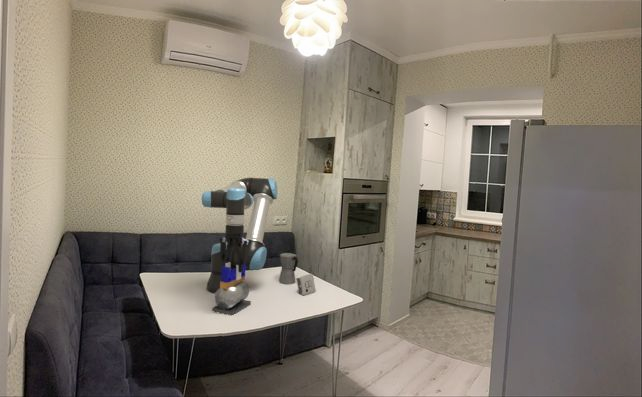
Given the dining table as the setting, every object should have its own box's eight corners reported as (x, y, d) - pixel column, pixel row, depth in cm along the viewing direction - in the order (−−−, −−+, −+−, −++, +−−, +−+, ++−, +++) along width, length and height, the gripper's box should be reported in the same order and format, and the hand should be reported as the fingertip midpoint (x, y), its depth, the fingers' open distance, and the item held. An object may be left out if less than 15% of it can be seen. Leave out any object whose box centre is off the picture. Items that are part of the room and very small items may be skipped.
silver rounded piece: (232, 315, 136) (233, 284, 136) (211, 311, 139) (212, 280, 139) (250, 304, 149) (251, 275, 149) (231, 300, 153) (232, 272, 152)
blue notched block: (236, 274, 150) (237, 261, 149) (245, 275, 148) (245, 262, 148) (218, 281, 139) (218, 266, 138) (227, 282, 137) (227, 268, 137)
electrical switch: (303, 296, 164) (303, 277, 164) (295, 294, 167) (295, 276, 167) (315, 292, 171) (315, 273, 171) (308, 290, 174) (307, 272, 174)
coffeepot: (273, 280, 188) (274, 248, 187) (287, 277, 194) (289, 246, 193) (288, 287, 176) (290, 253, 175) (303, 284, 182) (304, 251, 181)
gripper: (211, 223, 142) (210, 278, 143) (248, 227, 136) (246, 283, 137) (222, 222, 149) (220, 273, 150) (257, 225, 143) (255, 279, 144)
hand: (232, 278), depth 144 cm, fingers closed on blue notched block, 5 cm apart
